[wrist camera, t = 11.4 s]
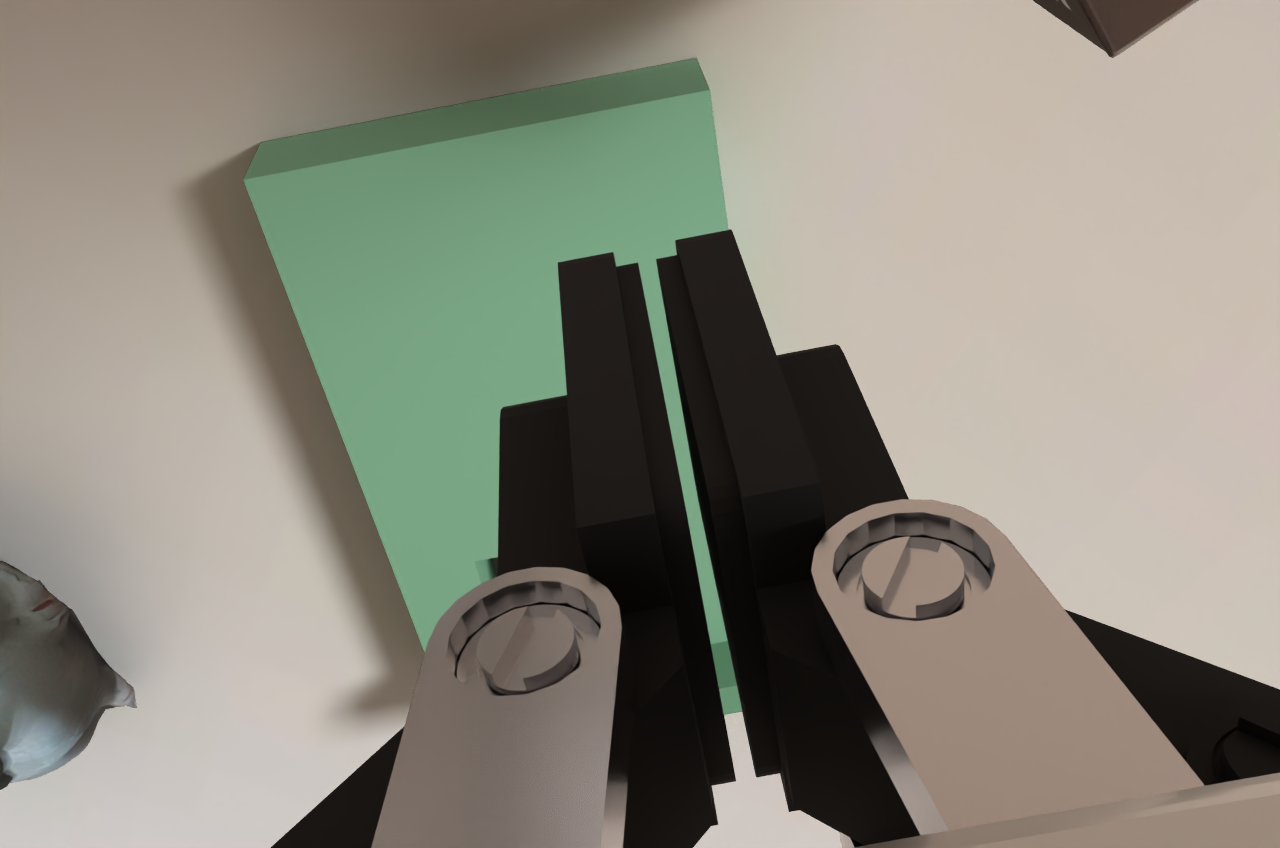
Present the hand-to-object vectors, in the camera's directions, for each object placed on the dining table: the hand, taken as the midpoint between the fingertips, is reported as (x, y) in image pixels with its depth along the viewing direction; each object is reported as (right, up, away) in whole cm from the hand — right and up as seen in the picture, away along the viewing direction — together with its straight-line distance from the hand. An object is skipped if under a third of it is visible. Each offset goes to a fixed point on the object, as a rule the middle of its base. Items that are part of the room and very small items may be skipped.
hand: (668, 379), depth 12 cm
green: (-3, 0, +33) cm, 33 cm away
